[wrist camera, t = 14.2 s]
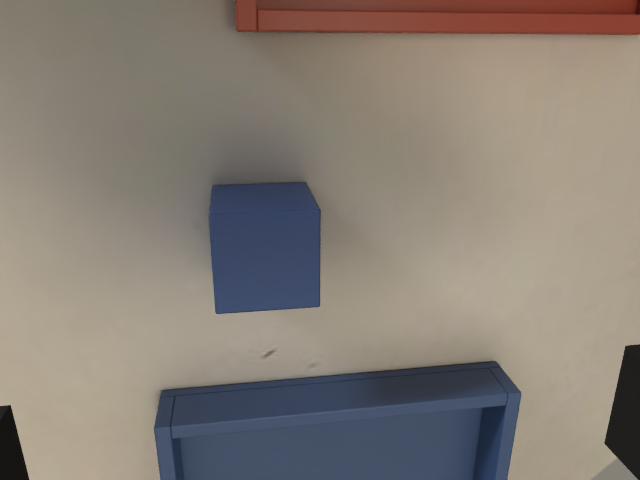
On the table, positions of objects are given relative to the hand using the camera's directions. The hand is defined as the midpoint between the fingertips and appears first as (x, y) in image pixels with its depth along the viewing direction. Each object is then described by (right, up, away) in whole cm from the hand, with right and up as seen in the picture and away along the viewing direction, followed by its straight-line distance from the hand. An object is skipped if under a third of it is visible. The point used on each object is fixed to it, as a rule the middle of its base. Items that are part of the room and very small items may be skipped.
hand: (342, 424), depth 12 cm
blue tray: (0, -10, +22) cm, 24 cm away
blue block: (-3, +5, +15) cm, 16 cm away
